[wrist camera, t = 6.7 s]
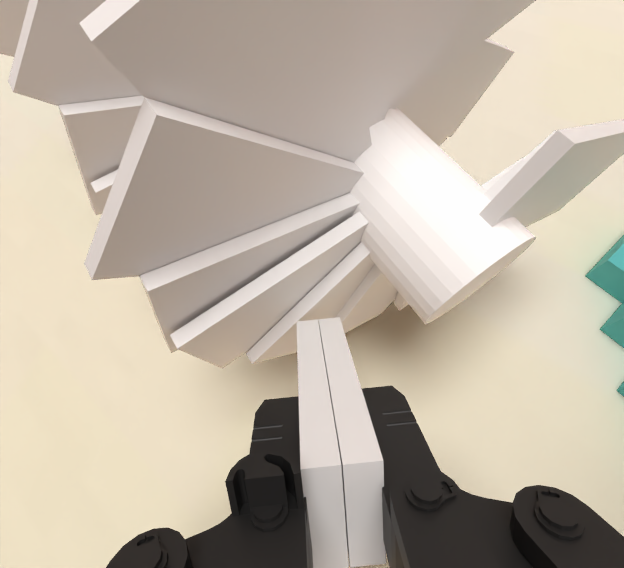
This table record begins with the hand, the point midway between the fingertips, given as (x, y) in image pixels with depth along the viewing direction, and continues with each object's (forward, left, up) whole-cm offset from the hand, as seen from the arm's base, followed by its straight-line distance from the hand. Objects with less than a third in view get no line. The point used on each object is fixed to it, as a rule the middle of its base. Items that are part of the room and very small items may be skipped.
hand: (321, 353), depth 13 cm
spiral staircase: (0, -11, -5) cm, 13 cm away
